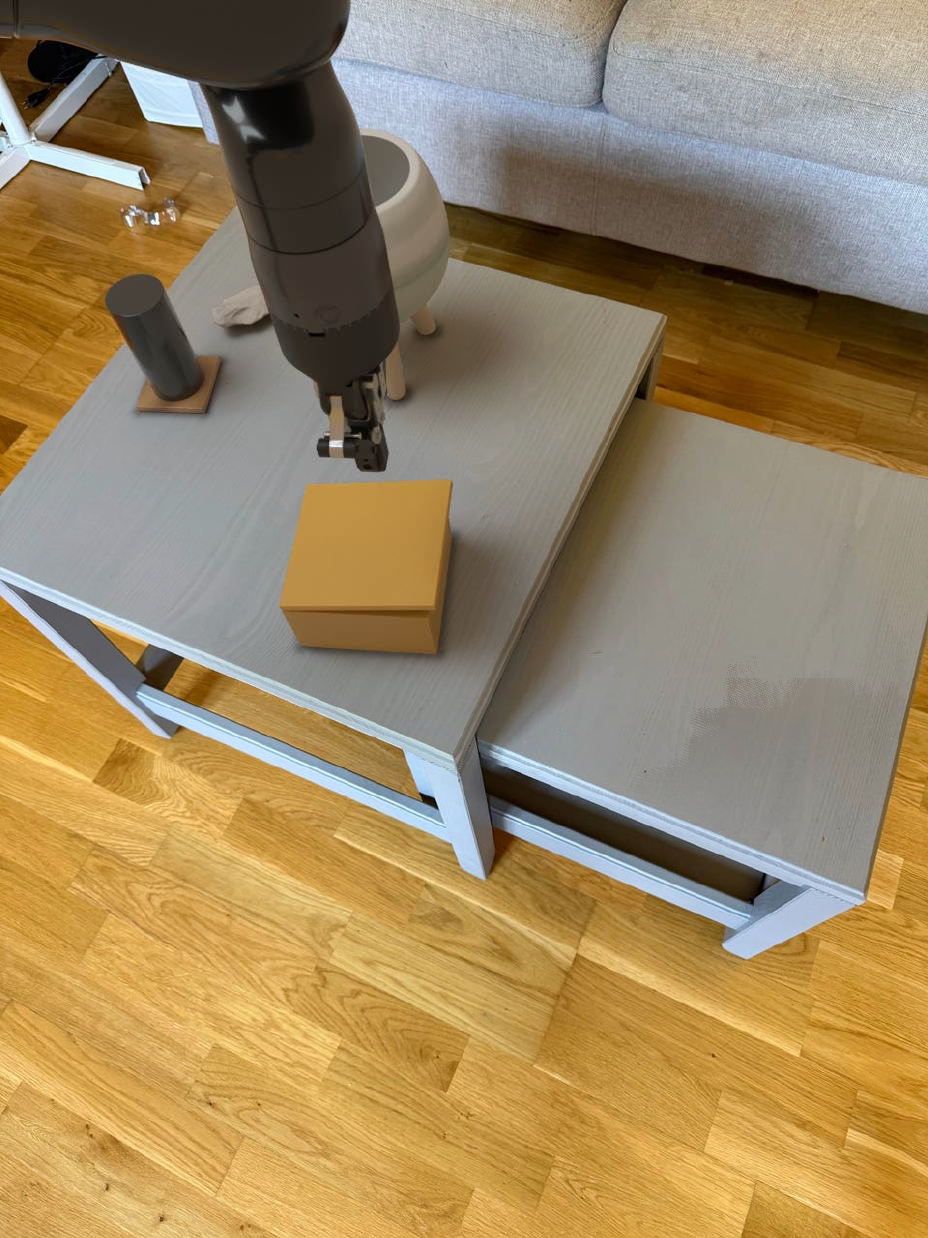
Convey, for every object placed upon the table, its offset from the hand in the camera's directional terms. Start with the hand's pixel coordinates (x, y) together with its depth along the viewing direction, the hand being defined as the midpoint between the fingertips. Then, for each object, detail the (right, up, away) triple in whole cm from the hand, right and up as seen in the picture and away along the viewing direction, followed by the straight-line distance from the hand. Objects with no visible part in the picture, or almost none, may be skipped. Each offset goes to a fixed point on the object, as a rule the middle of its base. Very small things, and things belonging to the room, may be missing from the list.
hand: (373, 463), depth 67 cm
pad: (-24, +14, +31) cm, 42 cm away
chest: (-1, -9, +17) cm, 20 cm away
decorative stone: (-18, +23, +36) cm, 46 cm away
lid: (-1, -5, +11) cm, 12 cm away
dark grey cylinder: (-24, +14, +31) cm, 42 cm away
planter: (-1, +17, +31) cm, 35 cm away
